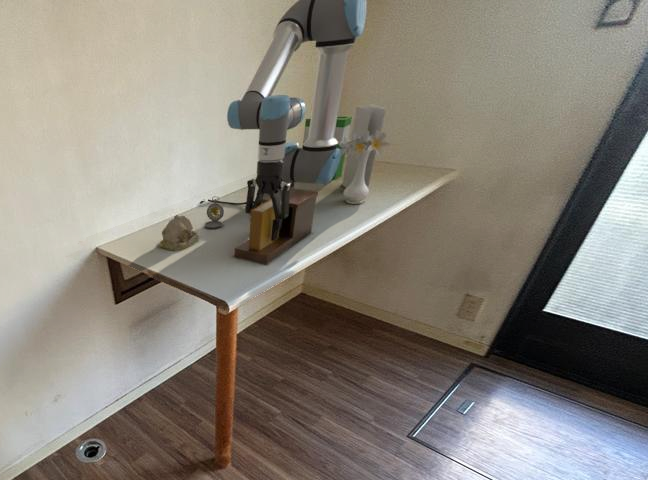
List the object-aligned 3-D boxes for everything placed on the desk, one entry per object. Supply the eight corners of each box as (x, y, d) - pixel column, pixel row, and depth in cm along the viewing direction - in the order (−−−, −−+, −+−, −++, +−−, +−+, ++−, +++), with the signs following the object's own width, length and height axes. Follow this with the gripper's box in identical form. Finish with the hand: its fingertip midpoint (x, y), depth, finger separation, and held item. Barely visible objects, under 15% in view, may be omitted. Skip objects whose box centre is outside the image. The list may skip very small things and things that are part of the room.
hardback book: (298, 176, 202) (305, 119, 187) (305, 172, 206) (312, 116, 191) (335, 179, 192) (345, 119, 177) (341, 175, 196) (352, 116, 181)
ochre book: (248, 248, 134) (250, 210, 126) (267, 236, 140) (271, 199, 132) (259, 250, 131) (262, 212, 124) (278, 238, 138) (282, 200, 130)
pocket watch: (208, 230, 157) (208, 203, 151) (200, 223, 164) (200, 197, 157) (228, 226, 158) (229, 199, 152) (219, 220, 165) (220, 193, 159)
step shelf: (233, 256, 137) (235, 213, 128) (279, 227, 153) (283, 187, 144) (267, 264, 130) (271, 220, 121) (311, 233, 146) (318, 191, 137)
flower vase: (338, 194, 175) (351, 126, 160) (382, 201, 164) (401, 128, 148) (322, 202, 169) (333, 133, 154) (366, 210, 158) (383, 136, 142)
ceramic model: (172, 253, 144) (171, 224, 138) (153, 245, 151) (151, 217, 145) (203, 241, 150) (202, 213, 143) (183, 233, 157) (182, 206, 151)
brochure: (367, 192, 173) (386, 108, 154) (353, 193, 174) (371, 110, 155) (354, 183, 184) (371, 104, 166) (342, 184, 185) (356, 105, 166)
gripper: (235, 160, 124) (232, 235, 138) (295, 165, 113) (286, 247, 127) (248, 154, 128) (244, 228, 142) (308, 159, 116) (297, 238, 131)
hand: (264, 237), depth 134 cm, fingers open, 6 cm apart
